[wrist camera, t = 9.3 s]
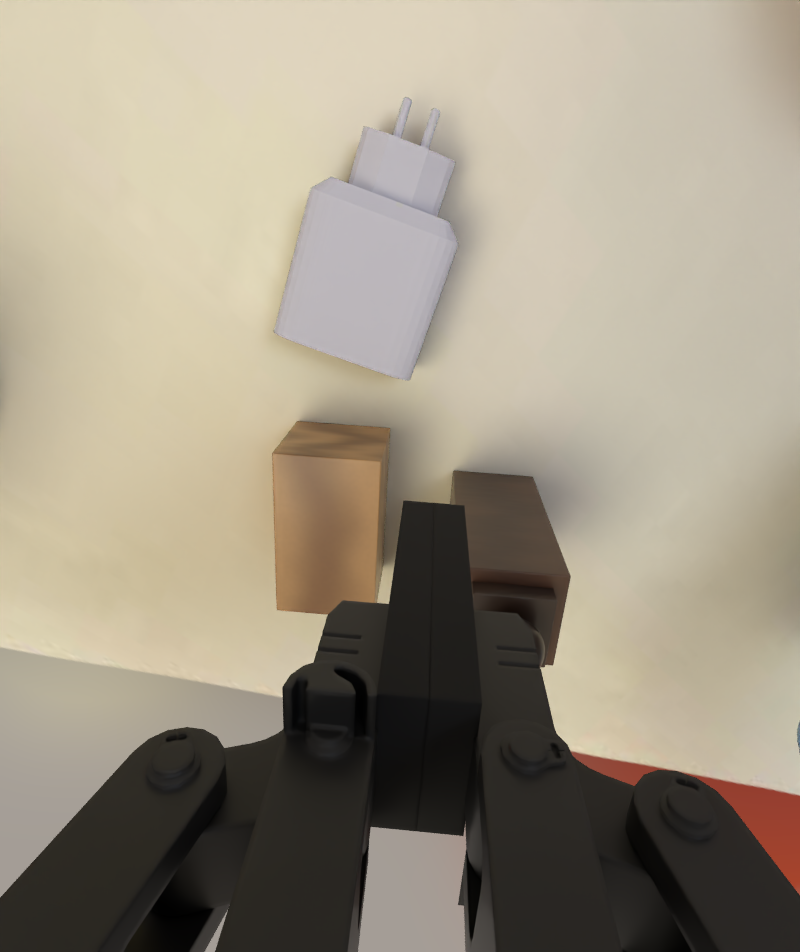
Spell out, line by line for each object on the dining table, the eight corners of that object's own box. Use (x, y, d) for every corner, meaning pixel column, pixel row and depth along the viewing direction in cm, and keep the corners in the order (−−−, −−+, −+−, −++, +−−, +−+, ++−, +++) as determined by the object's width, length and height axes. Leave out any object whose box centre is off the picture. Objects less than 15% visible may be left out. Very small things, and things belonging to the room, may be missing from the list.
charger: (494, 139, 36) (412, 368, 42) (351, 83, 35) (288, 324, 41) (501, 126, 31) (408, 383, 37) (339, 62, 31) (270, 334, 36)
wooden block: (390, 427, 43) (381, 461, 37) (382, 567, 48) (373, 618, 41) (296, 420, 44) (271, 453, 37) (298, 560, 48) (276, 610, 42)
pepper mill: (502, 461, 47) (695, 560, 34) (493, 528, 49) (671, 644, 36) (351, 489, 40) (518, 626, 27) (349, 565, 42) (502, 725, 29)
